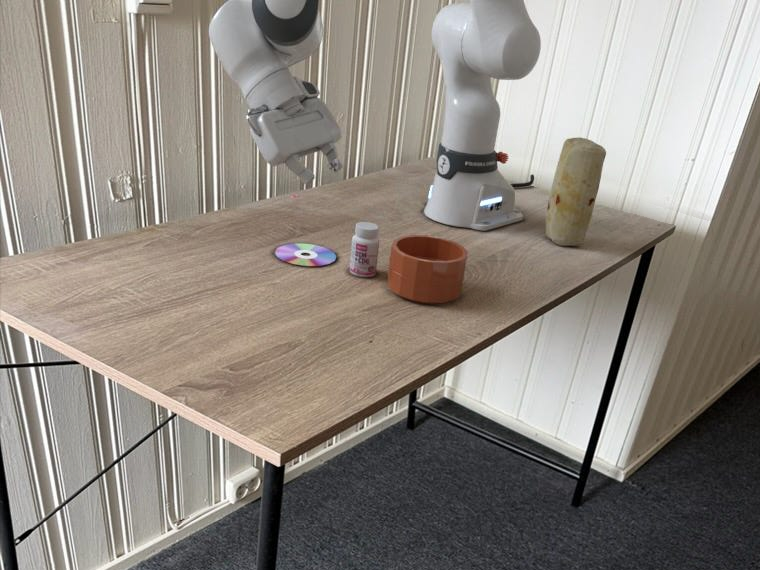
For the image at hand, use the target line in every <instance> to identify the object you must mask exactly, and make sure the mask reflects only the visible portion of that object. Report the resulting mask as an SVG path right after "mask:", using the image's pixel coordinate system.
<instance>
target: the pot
mask: <svg viewBox="0 0 760 570" xmlns="http://www.w3.org/2000/svg"><path fill="white" fill-rule="evenodd" d="M468 254H469V252H468V250H467V249H466V248H465V246H463V245H461V244H459V243H458V242H456V241H453V240H450V239H447V238H444V237H441V236H434V235H427V234H411V235H408V234H407V235H404V236H403V235H402V236H400V237H397V238H395V239H394V240H393V241H392V243H391V246H390V256H389V262H388V263H389V264H388V271H387V272H388V273H387V281H386V282H387V283H386V285H387V286H388V288H389V289H390V291H391V292H393V293H394V294H396V295H398V296H399V297H402V298H404V299H406V300H409V301H412V302H415V303H416V302H417V303H420V304H421V303H422V304H443V303H447V302H452V301H455V300H457V299H458V298H459V297H461V295H462V290H463V284H464V279H465V271H466V266H467V261H468Z"/></svg>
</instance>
